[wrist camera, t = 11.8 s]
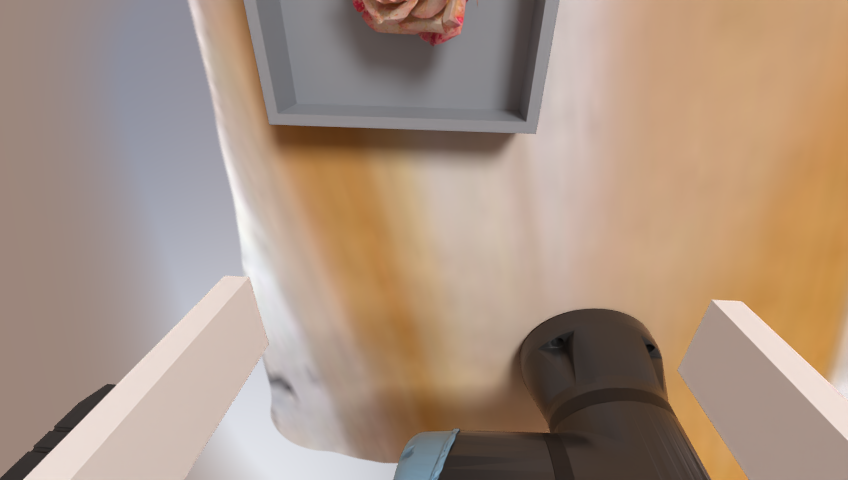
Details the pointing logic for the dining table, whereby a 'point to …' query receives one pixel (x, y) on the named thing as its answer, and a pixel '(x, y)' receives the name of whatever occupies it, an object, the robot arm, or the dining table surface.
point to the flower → (415, 17)
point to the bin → (402, 67)
